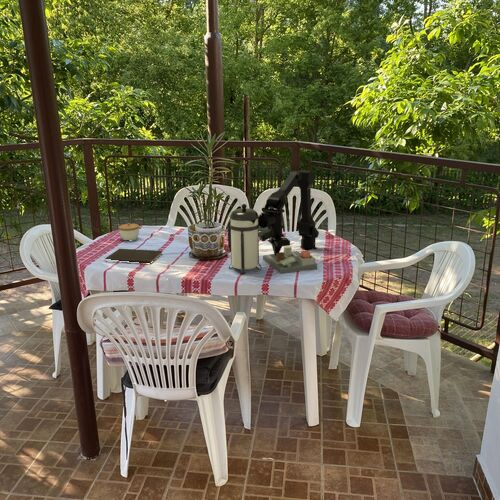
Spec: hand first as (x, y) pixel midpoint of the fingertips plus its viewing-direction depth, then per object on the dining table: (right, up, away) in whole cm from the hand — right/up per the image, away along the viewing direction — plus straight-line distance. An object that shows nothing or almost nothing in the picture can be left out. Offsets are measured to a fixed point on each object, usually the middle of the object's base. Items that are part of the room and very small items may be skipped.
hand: (276, 255), depth 241 cm
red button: (+13, -2, -7) cm, 15 cm away
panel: (+6, -4, -1) cm, 7 cm away
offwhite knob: (+6, 0, +5) cm, 7 cm away
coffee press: (-15, -6, -6) cm, 18 cm away
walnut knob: (+2, -3, -5) cm, 6 cm away
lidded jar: (-77, +8, +41) cm, 88 cm away
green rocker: (+5, -3, -11) cm, 12 cm away
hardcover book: (-68, -2, +11) cm, 69 cm away
